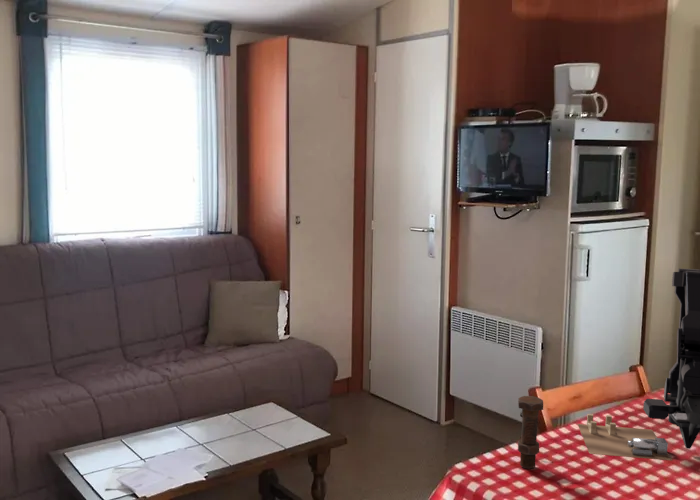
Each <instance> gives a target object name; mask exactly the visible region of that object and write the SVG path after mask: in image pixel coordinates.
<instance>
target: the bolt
mask: <svg viewBox="0 0 700 500" xmlns="http://www.w3.org/2000/svg"><path fill="white" fill-rule="evenodd" d="M517 402H518V403H517V405H518V409H521V410H522V411H521V414H522V416H521V421H522V424H521V439H519V440H518V441H517V450H518V452H520V454H519V455H520V461H519V465H520V466H521V468H523V469H530V470H531V469H534V468H535V466H536V459H537V458H536V457H537V456H536V455H538V454H539V453H540V442H539V441H537V439H538V438H537V437H538V436H537V435H538V420H539V418H538V417H539V411H543V410H544V400H543V399H541V398H540V397H538V396H534V395H533V396H532V395H523V396H520V397H518V401H517Z"/></svg>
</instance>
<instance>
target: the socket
mask: <svg viewBox="0 0 700 500" xmlns="http://www.w3.org/2000/svg"><path fill="white" fill-rule="evenodd" d="M627 445H628V444H627ZM632 454H633V455H640V456H652V451H651V450H640V449H632Z"/></svg>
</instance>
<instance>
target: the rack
mask: <svg viewBox="0 0 700 500" xmlns="http://www.w3.org/2000/svg"><path fill="white" fill-rule="evenodd" d="M612 421H613V417H612V415H609V414H606V415H605V425H604V426H606V428H607V430H608V432H609V434H610V435H612V436H615V432H616V427H617V423H616V422H612ZM597 424H598V423H597V421H595V420H594V414H593V413H587V416H586V425H587V426H588V429H589V431H590V433H591V434H596V426H597Z"/></svg>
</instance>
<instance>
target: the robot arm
mask: <svg viewBox="0 0 700 500" xmlns="http://www.w3.org/2000/svg"><path fill="white" fill-rule="evenodd" d="M671 286H672V287H674V291H673V292H674V294H675V296H676V298H677V300H678V302H679V304H680V305H679V320H678V321H679V322H678V328H677V331H676V362H675V363H674V364H673V366H672V367H671V368H670V369H669V371H668V377H665V383H664V387H663V388H664V391H663V397H664V398H663V399H659V398H658V399H657V398H646V399H645V400H644V401H643V409H642V410H643V411H644V412H645V414H646V416H647V417H648V418H650V419H652V420H653V419H654V420H655V419H656V420H666V419H667V418H668V420H667V421H668V423H670V424H672V425H675V426H677V427H678V428H679V432H680V435H681V437H682V440H683V444H684V447H685V448H686V449H687V450H688V449H689V450H690V449H691V448H692V447H693V445H694V442H695V441H696V439H697V437H698V435H699V433H700V269H696V268H695V269H694V268H681V267H679V268H678V270H677V271H673V272H672V279H671ZM667 402H669V404H667Z"/></svg>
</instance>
